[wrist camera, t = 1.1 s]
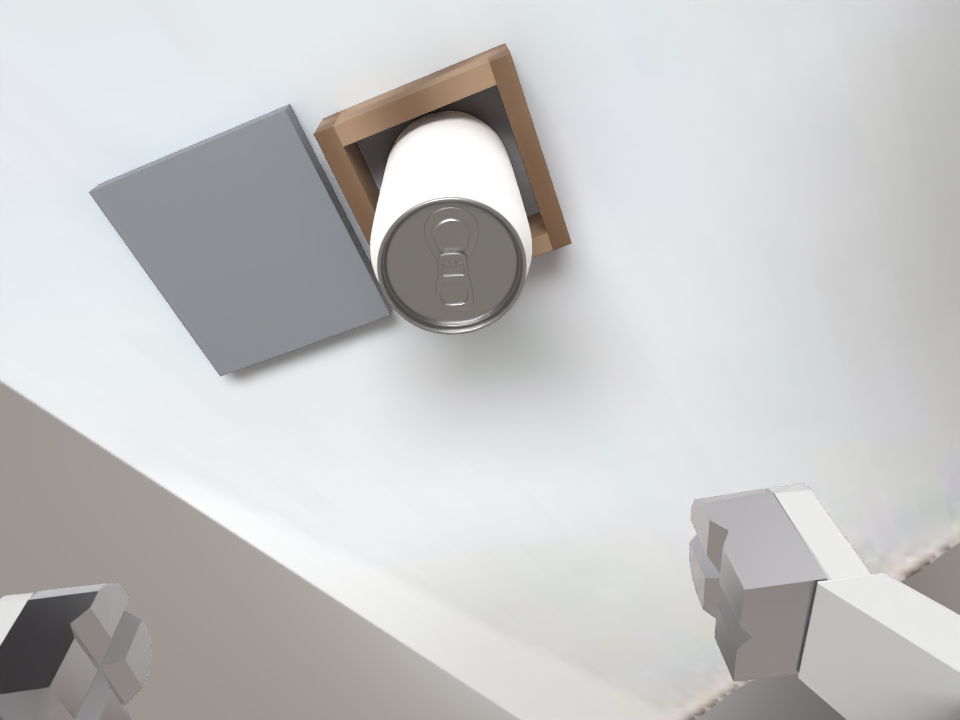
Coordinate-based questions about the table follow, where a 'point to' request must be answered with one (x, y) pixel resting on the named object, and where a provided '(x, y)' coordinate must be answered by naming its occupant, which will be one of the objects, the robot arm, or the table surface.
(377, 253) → the can
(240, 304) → the coaster
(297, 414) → the table surface
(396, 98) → the square wooden frame
